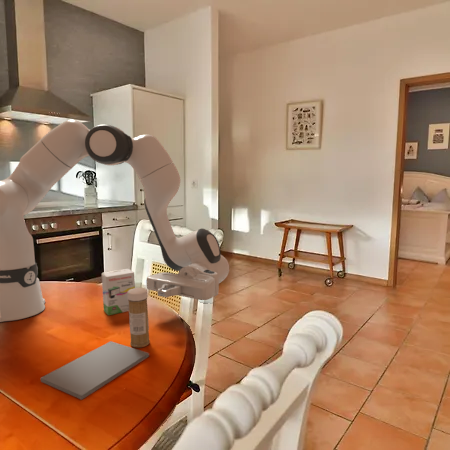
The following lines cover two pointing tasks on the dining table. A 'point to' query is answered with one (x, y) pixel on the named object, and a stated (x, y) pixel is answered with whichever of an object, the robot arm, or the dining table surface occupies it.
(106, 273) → the ink box
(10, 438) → the dining table surface
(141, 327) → the sprinkles bottle
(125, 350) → the cutting board
